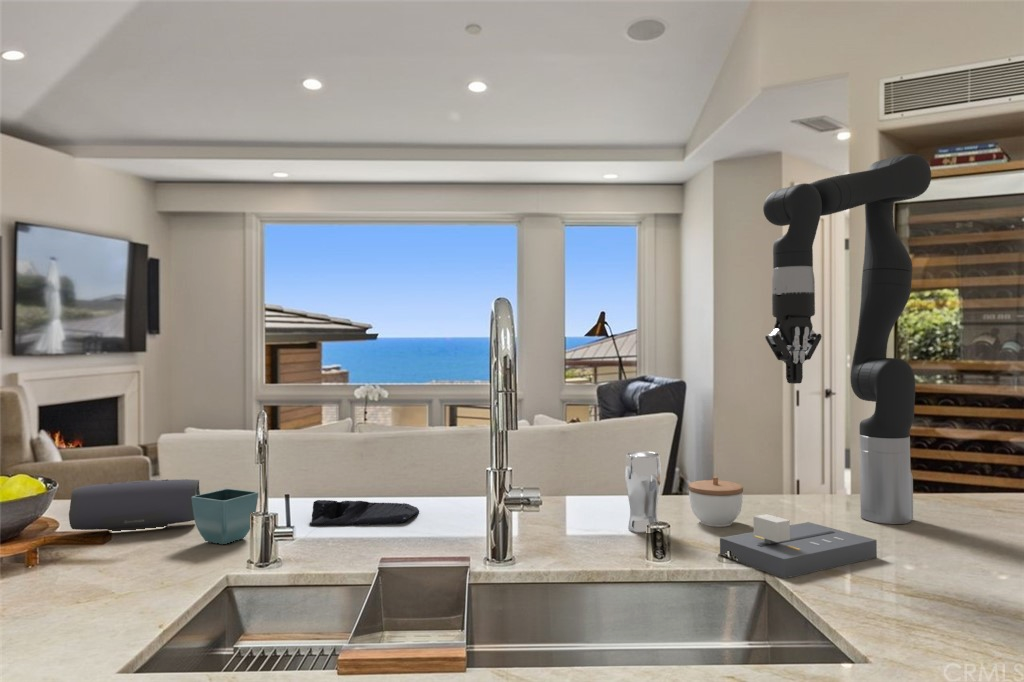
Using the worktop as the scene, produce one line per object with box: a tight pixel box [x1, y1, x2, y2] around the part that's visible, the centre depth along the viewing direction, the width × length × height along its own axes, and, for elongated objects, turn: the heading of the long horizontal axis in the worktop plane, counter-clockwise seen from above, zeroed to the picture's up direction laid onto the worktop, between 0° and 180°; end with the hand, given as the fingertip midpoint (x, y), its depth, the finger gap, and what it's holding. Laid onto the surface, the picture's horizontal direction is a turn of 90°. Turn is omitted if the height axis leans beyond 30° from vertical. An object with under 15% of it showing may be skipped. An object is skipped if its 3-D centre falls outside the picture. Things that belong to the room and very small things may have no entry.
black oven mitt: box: [309, 499, 420, 527], centre depth 154 cm, size 15×22×5 cm
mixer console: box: [719, 521, 878, 579], centre depth 123 cm, size 22×14×3 cm, turn 117°
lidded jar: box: [688, 476, 744, 528], centre depth 146 cm, size 11×11×9 cm
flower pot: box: [191, 488, 259, 545], centre depth 137 cm, size 9×9×9 cm
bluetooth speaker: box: [68, 478, 201, 531], centre depth 146 cm, size 23×9×10 cm, turn 108°
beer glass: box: [624, 451, 662, 534], centre depth 141 cm, size 7×7×15 cm
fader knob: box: [753, 513, 791, 544], centre depth 120 cm, size 3×5×4 cm, turn 27°
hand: (794, 383), depth 135 cm, fingers closed
